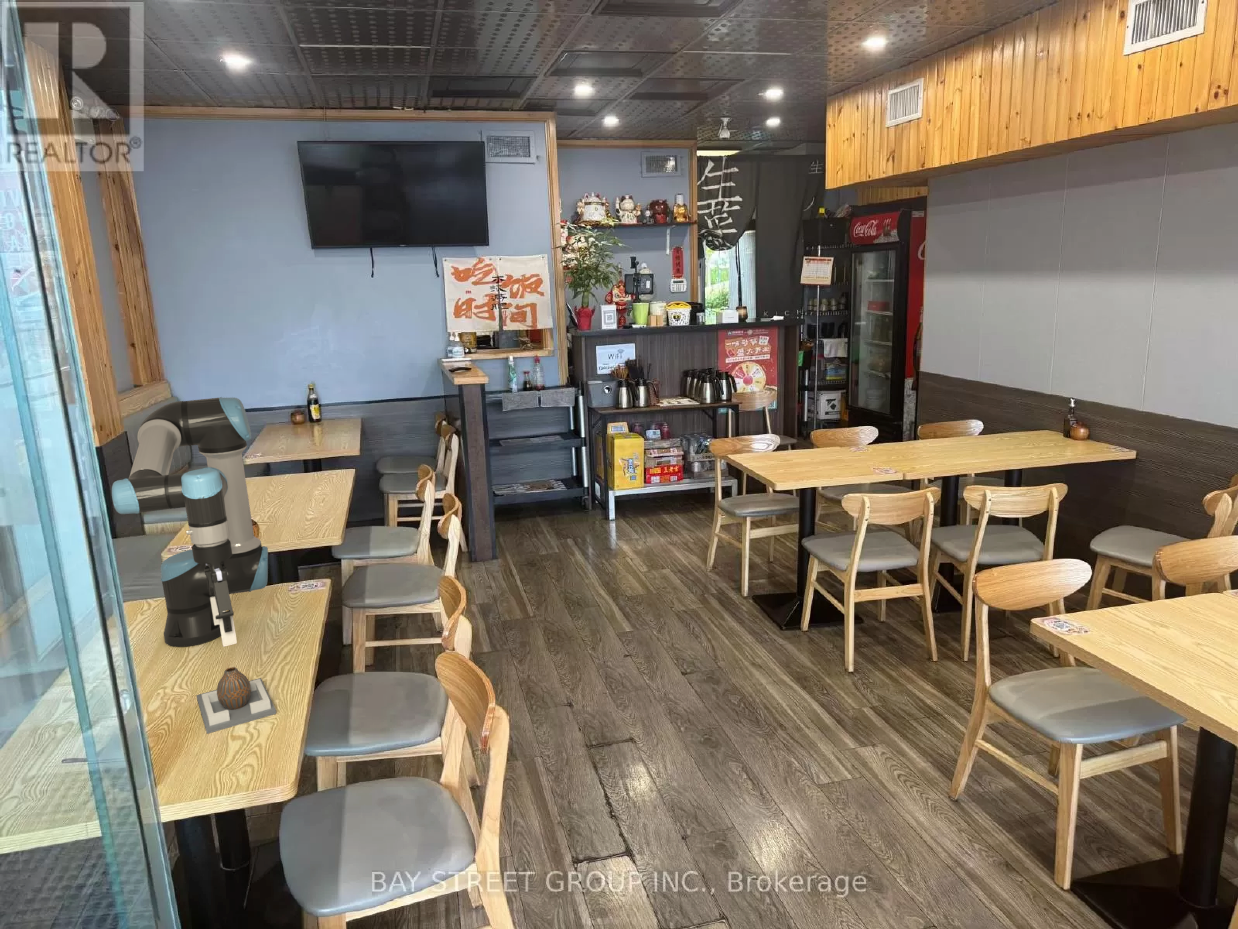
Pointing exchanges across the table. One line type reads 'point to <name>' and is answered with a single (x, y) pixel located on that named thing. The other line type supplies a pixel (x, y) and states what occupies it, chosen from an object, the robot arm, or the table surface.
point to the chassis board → (225, 718)
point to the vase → (233, 689)
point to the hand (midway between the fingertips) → (225, 633)
